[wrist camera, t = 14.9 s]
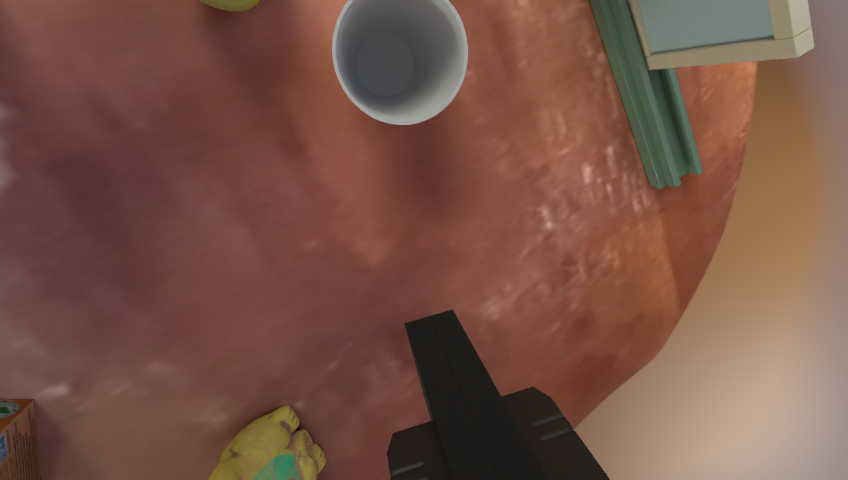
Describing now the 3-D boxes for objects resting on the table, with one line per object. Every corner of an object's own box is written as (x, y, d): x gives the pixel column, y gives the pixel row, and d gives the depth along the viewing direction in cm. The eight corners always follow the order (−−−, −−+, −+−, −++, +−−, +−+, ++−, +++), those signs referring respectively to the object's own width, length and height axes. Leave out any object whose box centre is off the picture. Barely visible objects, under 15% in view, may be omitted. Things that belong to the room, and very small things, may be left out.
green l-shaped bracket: (551, -113, 34) (745, -299, 18) (600, -141, 34) (837, -352, 18) (650, 186, 43) (832, 238, 28) (688, 164, 43) (891, 203, 28)
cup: (453, 60, 36) (494, 48, 27) (390, 137, 37) (410, 152, 28) (376, -16, 33) (392, -59, 24) (311, 70, 34) (302, 60, 25)
